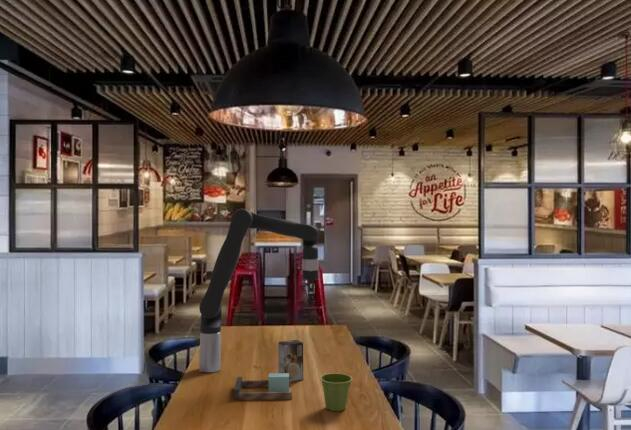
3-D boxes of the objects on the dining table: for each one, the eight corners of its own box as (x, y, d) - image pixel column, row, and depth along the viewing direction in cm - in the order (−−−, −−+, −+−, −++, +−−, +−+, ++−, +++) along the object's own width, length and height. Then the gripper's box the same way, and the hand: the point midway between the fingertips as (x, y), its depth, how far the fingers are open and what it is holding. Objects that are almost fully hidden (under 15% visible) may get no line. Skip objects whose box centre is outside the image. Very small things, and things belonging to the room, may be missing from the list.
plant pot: (328, 416, 201) (328, 384, 200) (314, 405, 211) (314, 375, 211) (358, 411, 205) (358, 380, 205) (343, 401, 216) (343, 371, 216)
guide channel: (234, 400, 217) (234, 389, 217) (237, 386, 233) (237, 376, 233) (291, 399, 218) (291, 388, 218) (291, 385, 235) (291, 376, 235)
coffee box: (297, 376, 248) (297, 339, 248) (303, 380, 243) (303, 342, 242) (277, 378, 244) (278, 341, 244) (284, 383, 238) (284, 344, 238)
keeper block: (268, 394, 223) (268, 377, 223) (268, 390, 228) (268, 373, 228) (289, 394, 224) (289, 376, 224) (288, 390, 229) (288, 373, 229)
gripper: (301, 267, 266) (301, 301, 267) (302, 270, 252) (302, 307, 252) (317, 267, 267) (317, 301, 267) (319, 270, 253) (319, 307, 253)
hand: (310, 304), depth 260 cm, fingers open, 8 cm apart
